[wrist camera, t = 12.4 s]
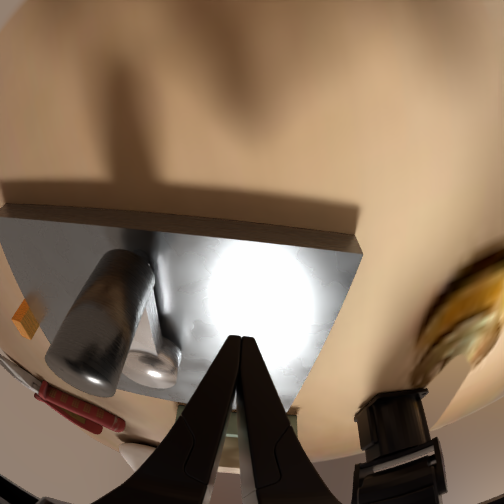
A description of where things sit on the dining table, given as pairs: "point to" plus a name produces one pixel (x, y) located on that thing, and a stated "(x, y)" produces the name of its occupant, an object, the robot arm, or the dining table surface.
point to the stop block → (230, 456)
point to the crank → (114, 331)
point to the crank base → (190, 283)
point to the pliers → (66, 402)
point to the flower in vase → (135, 453)
